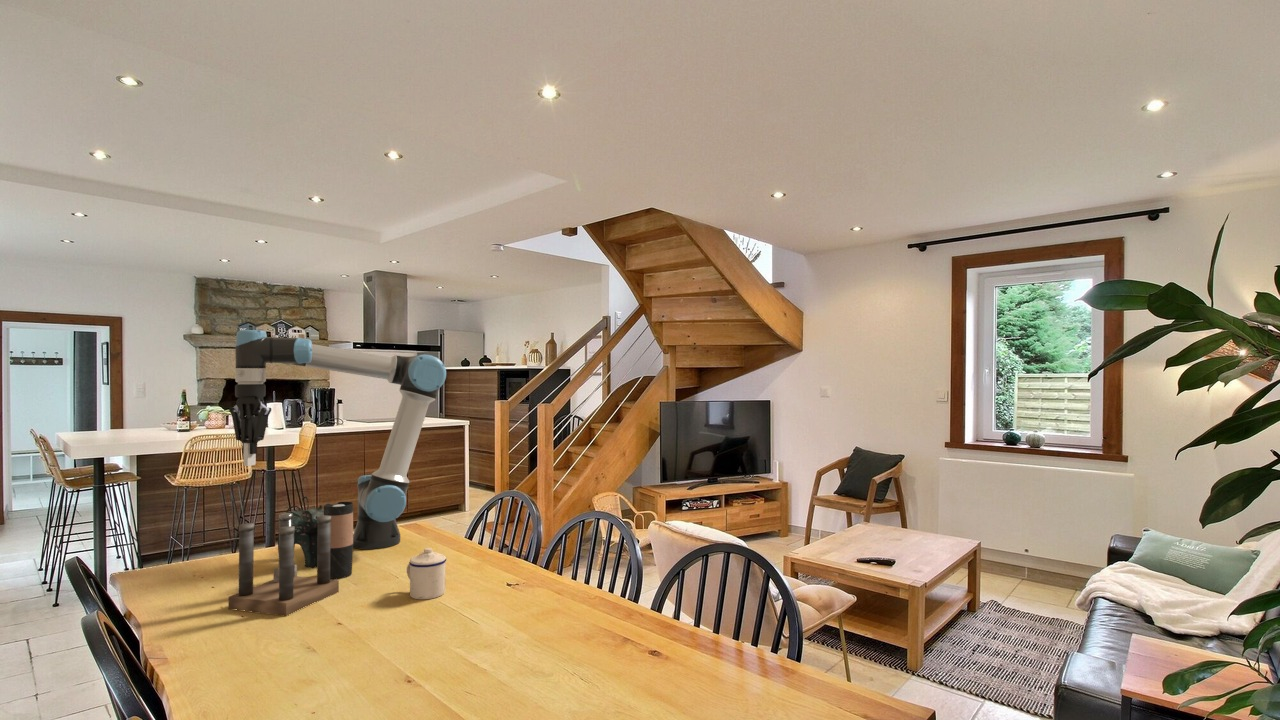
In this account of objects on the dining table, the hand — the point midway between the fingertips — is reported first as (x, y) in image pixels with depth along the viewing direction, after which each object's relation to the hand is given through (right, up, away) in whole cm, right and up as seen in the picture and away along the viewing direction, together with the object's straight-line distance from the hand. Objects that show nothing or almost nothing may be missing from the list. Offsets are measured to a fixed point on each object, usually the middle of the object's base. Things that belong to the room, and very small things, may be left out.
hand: (249, 465), depth 182 cm
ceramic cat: (+10, -31, +8) cm, 33 cm away
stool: (+24, -30, -24) cm, 45 cm away
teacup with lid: (+57, -30, -19) cm, 67 cm away
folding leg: (+20, -26, -16) cm, 36 cm away
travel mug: (+28, -30, -4) cm, 41 cm away
